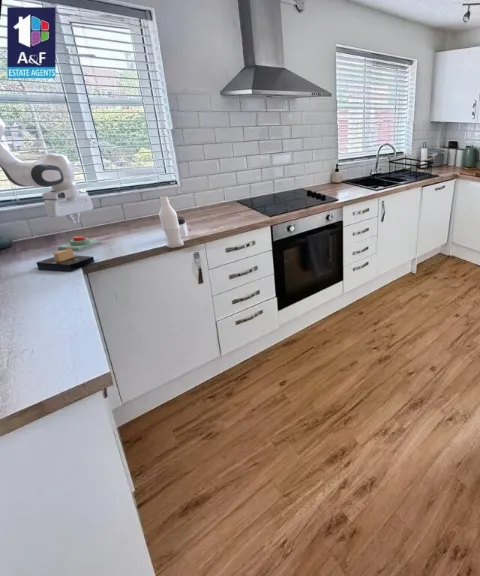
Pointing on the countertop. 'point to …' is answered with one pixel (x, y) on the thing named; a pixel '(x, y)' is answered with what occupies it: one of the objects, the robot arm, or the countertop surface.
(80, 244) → the button block
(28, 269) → the countertop surface
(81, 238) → the button
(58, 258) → the handle
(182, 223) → the jar
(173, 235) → the water bottle
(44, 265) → the panel
